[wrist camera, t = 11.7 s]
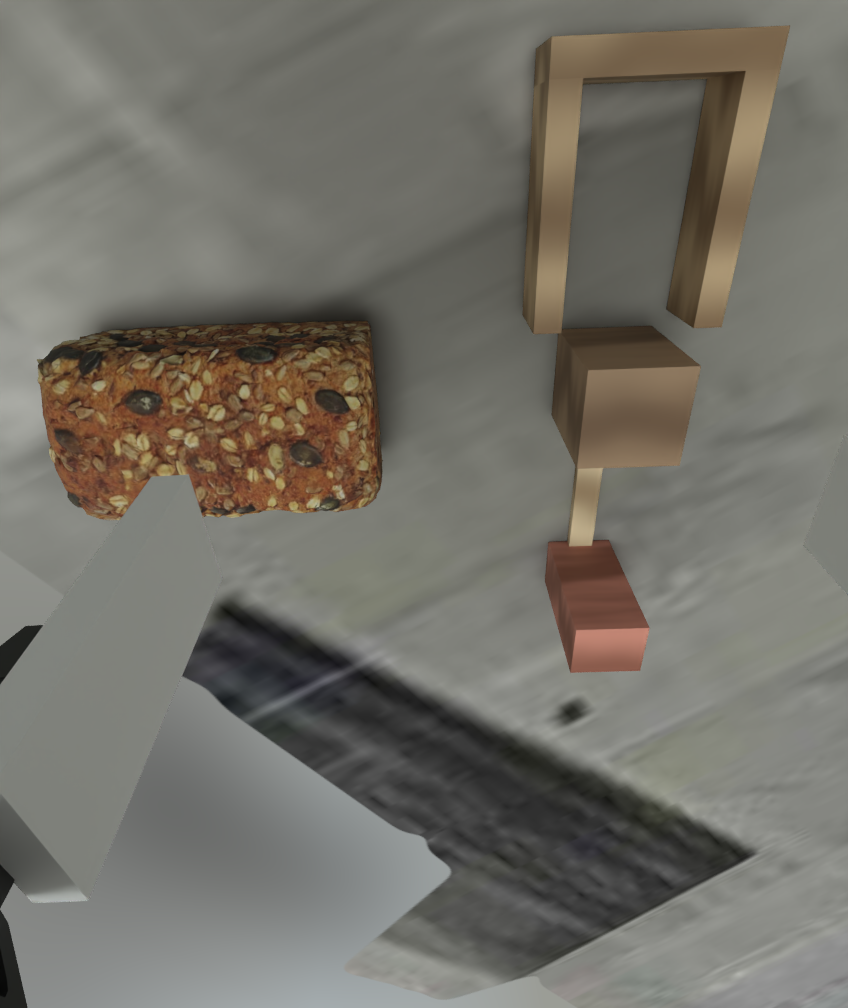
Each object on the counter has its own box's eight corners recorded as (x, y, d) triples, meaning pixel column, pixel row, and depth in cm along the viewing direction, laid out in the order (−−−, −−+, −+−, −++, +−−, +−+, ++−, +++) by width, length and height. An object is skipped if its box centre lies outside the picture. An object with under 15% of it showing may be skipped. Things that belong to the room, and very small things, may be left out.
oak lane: (536, 49, 31) (551, 36, 27) (745, 39, 30) (790, 25, 27) (522, 314, 38) (533, 334, 34) (691, 308, 38) (721, 327, 34)
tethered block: (558, 329, 38) (597, 383, 30) (651, 325, 38) (716, 379, 30) (537, 580, 49) (561, 672, 41) (609, 578, 49) (648, 670, 41)
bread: (135, 461, 44) (66, 539, 35) (89, 314, 38) (-6, 365, 29) (387, 456, 43) (379, 534, 35) (378, 308, 38) (366, 358, 29)
